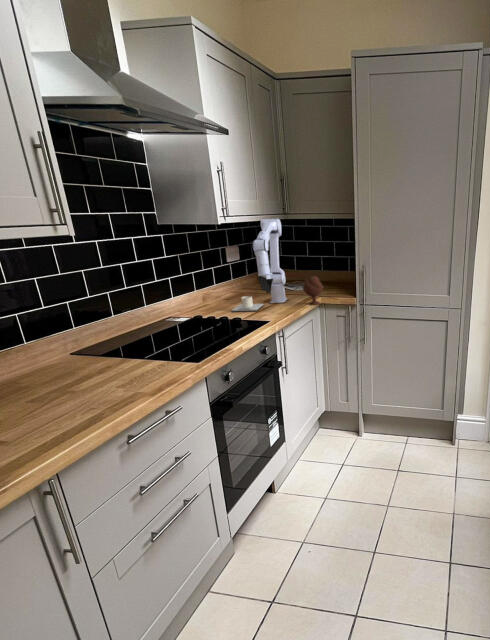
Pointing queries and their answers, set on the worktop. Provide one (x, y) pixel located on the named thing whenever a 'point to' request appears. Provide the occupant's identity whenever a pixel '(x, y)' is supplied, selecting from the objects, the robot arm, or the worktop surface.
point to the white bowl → (247, 301)
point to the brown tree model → (313, 288)
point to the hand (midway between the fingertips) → (266, 291)
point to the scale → (250, 309)
